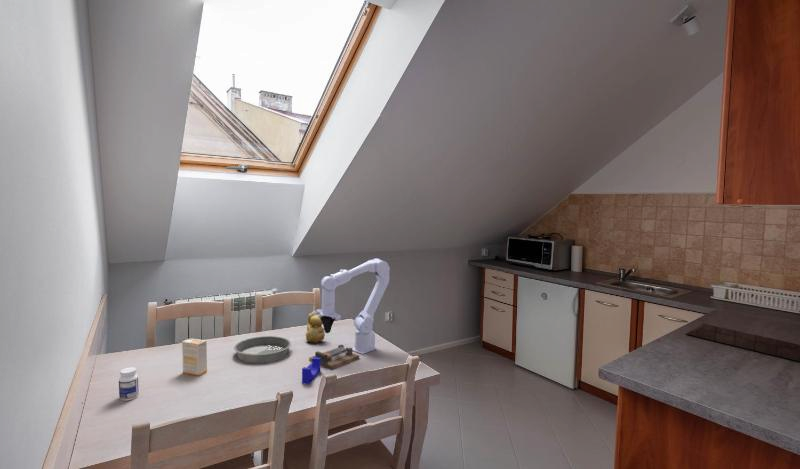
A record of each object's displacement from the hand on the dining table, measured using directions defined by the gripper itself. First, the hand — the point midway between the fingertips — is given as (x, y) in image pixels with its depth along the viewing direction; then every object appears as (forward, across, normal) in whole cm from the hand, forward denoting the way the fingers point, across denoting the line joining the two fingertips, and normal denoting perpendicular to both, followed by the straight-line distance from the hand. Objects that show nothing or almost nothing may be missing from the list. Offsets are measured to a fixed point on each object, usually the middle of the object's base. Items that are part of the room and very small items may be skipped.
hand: (327, 332), depth 192 cm
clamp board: (+10, +7, -2) cm, 13 cm away
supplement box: (+11, -24, -49) cm, 56 cm away
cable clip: (+11, +13, -21) cm, 27 cm away
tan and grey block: (+8, +7, -2) cm, 11 cm away
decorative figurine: (+11, -17, +7) cm, 21 cm away
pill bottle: (+11, -20, -74) cm, 77 cm away
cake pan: (+11, -22, -19) cm, 31 cm away
